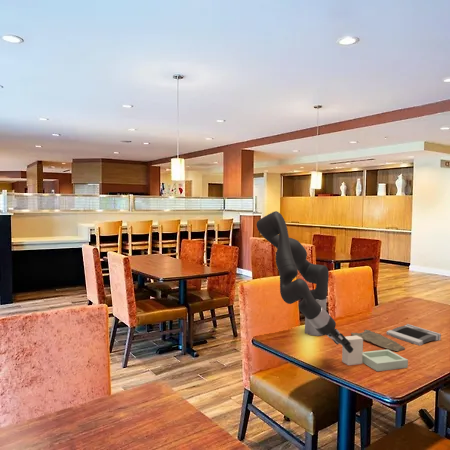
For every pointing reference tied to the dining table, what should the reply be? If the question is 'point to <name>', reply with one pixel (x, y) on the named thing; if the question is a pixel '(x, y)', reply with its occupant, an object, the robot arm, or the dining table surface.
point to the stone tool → (379, 340)
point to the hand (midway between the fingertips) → (345, 346)
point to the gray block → (357, 352)
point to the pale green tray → (384, 360)
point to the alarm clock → (414, 334)
